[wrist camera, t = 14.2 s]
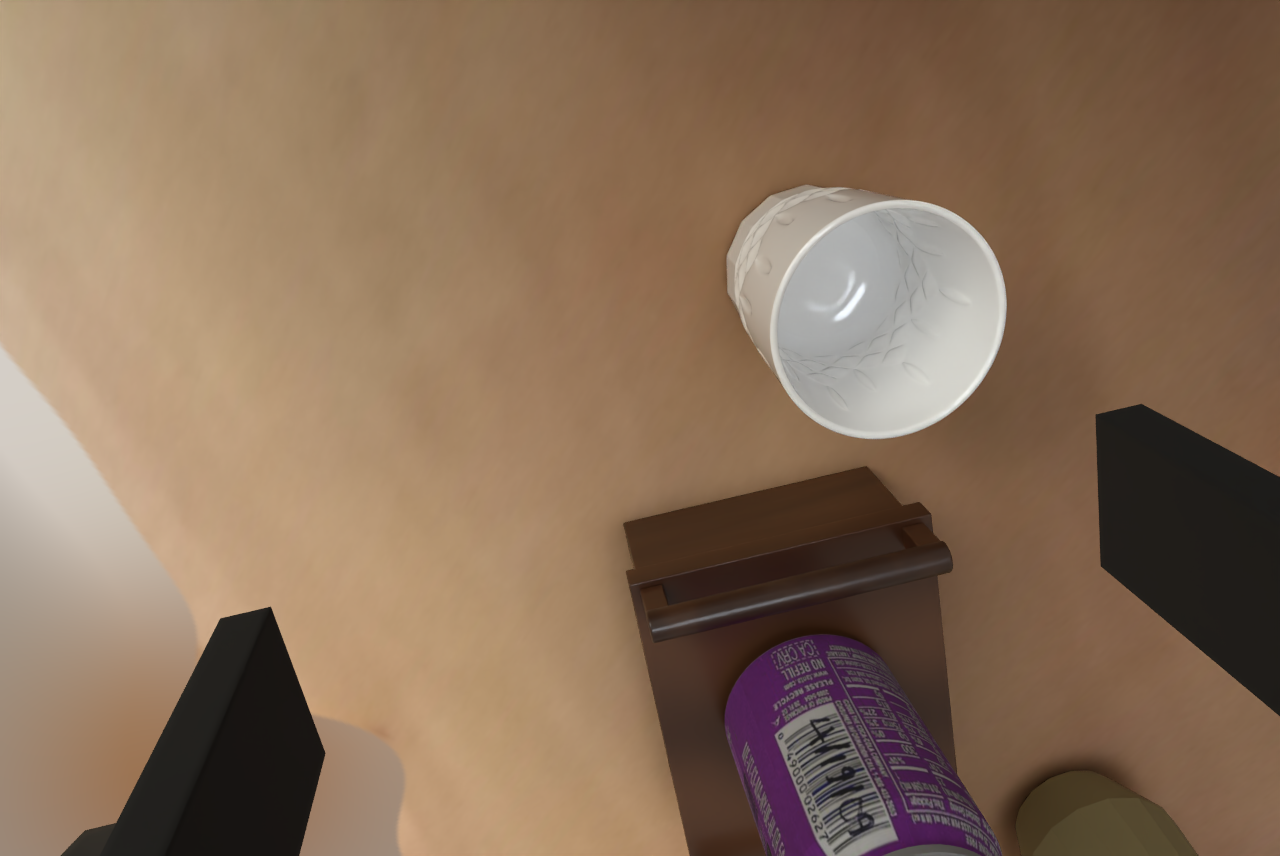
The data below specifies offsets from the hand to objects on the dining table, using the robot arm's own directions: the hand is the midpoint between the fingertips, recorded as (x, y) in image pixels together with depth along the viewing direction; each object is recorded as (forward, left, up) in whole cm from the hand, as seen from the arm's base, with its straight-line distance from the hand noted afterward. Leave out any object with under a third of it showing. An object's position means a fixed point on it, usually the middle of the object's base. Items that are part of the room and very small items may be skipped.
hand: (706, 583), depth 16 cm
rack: (+19, +5, -27) cm, 33 cm away
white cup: (+2, +9, -27) cm, 28 cm away
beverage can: (+18, +5, -20) cm, 28 cm away
